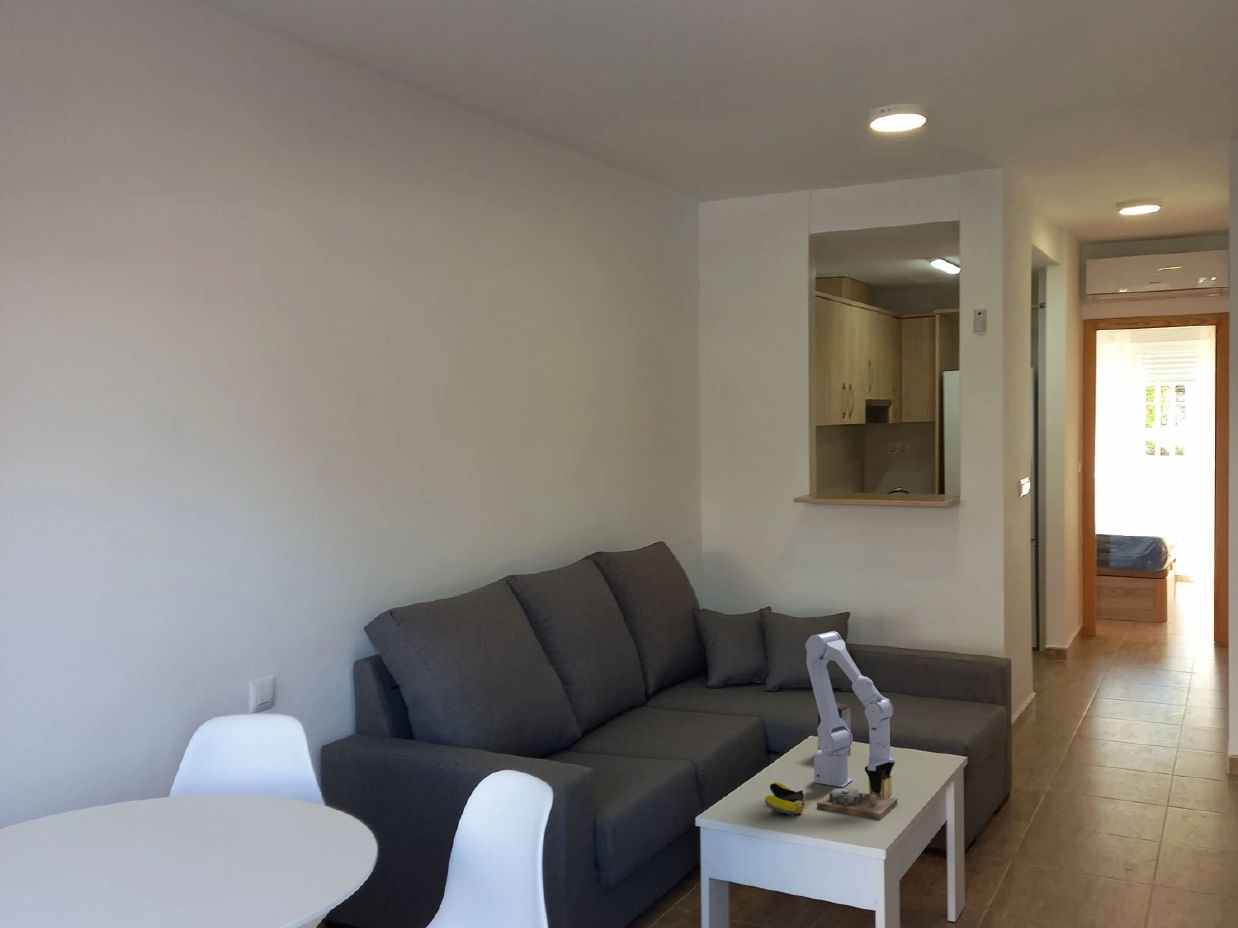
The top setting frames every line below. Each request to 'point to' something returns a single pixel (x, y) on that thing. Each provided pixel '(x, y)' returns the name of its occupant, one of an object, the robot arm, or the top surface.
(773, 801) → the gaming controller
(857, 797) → the gear board
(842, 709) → the coffee box
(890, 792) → the wooden gear
